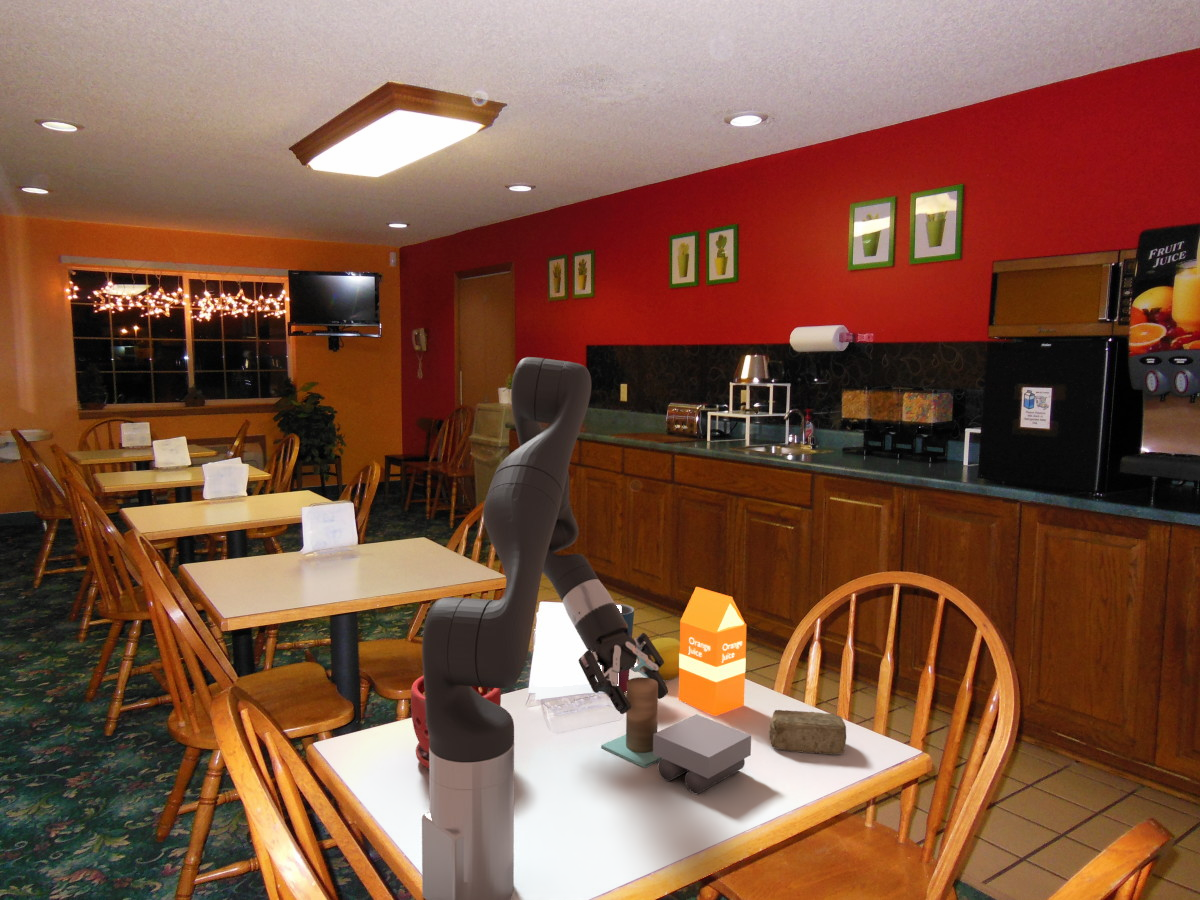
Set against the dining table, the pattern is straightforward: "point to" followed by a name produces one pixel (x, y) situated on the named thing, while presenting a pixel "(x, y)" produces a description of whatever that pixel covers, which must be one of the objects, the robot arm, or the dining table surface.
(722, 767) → the grey roller platform
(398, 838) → the dining table surface
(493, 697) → the plant pot
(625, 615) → the cup
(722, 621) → the orange juice
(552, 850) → the dining table surface
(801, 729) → the stone block
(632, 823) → the dining table surface
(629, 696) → the roller
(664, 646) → the lemon
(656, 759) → the teal pad
